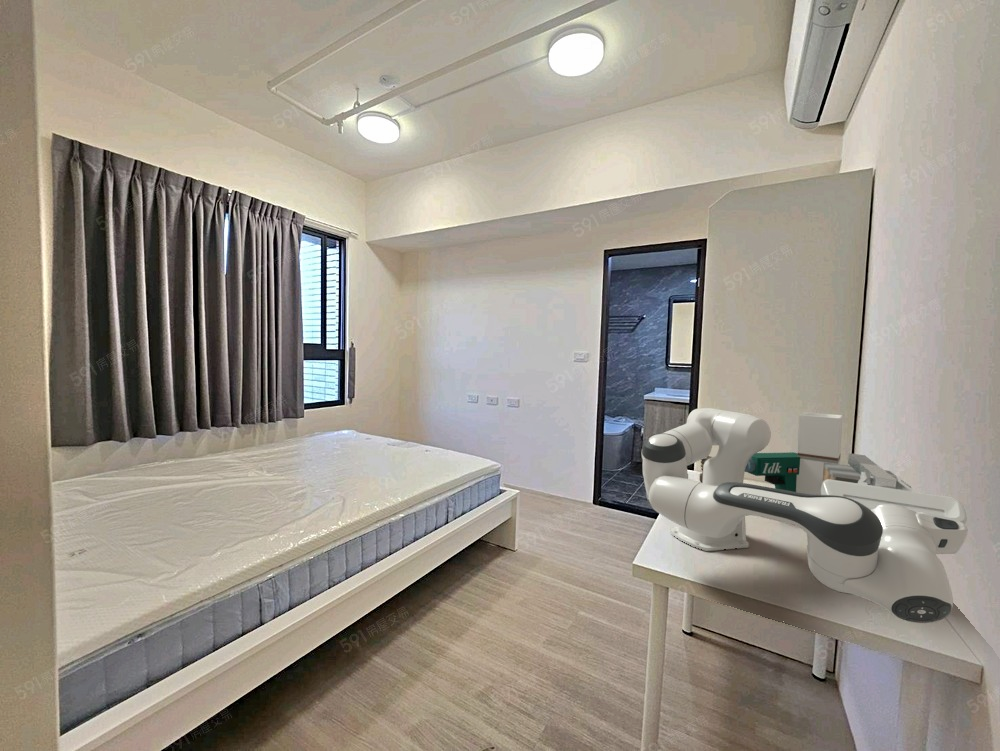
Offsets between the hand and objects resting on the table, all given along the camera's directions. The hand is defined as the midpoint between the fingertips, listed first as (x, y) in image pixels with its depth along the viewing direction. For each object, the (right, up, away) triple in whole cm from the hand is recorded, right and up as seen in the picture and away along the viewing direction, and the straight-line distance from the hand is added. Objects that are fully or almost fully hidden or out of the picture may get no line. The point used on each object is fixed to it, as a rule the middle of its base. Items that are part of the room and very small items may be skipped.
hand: (879, 476), depth 85 cm
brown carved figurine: (+6, -27, +83) cm, 87 cm away
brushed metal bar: (+4, -1, +6) cm, 7 cm away
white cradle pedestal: (+37, -29, +65) cm, 80 cm away
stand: (+16, -31, +24) cm, 42 cm away
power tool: (+18, -28, +66) cm, 74 cm away
